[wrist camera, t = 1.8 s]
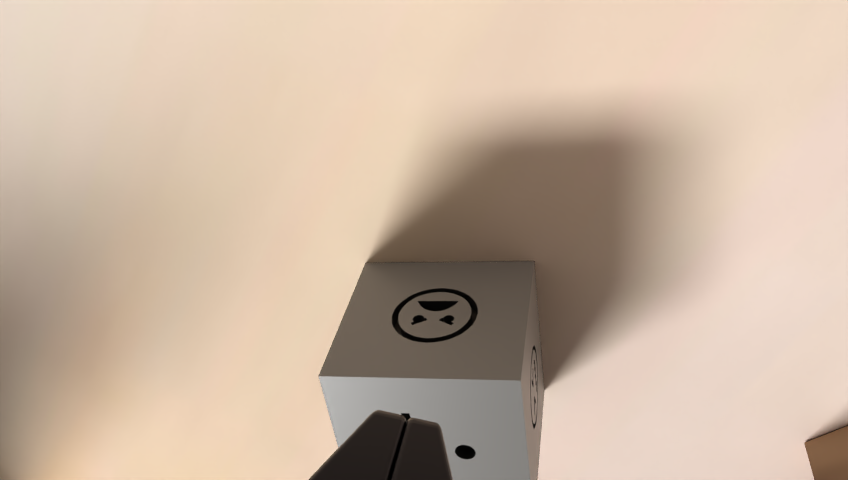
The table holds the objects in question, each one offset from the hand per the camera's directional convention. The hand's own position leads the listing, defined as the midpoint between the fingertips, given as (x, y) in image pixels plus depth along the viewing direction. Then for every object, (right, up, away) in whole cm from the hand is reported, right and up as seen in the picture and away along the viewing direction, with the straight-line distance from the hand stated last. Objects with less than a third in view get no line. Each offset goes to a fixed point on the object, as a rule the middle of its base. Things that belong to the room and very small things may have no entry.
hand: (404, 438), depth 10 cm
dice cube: (+1, 0, +15) cm, 15 cm away
